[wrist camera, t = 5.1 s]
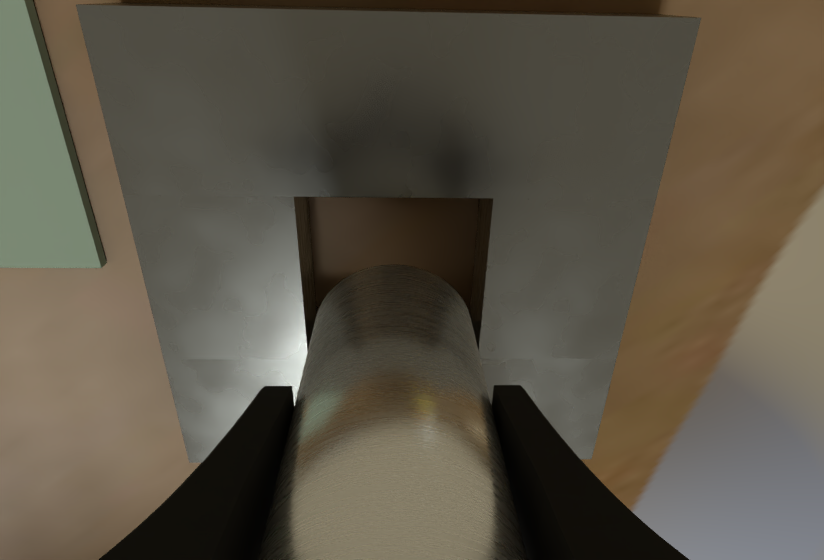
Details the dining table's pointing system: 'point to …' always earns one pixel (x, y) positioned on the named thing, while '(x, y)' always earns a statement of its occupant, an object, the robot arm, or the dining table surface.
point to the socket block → (386, 177)
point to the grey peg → (392, 433)
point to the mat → (38, 157)
